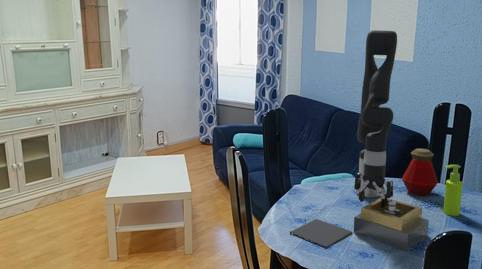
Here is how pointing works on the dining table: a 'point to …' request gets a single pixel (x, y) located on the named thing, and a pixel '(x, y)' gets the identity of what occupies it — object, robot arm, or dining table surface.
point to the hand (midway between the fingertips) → (372, 204)
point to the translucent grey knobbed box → (392, 230)
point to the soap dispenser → (453, 192)
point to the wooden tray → (390, 221)
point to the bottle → (420, 173)
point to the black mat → (321, 232)
